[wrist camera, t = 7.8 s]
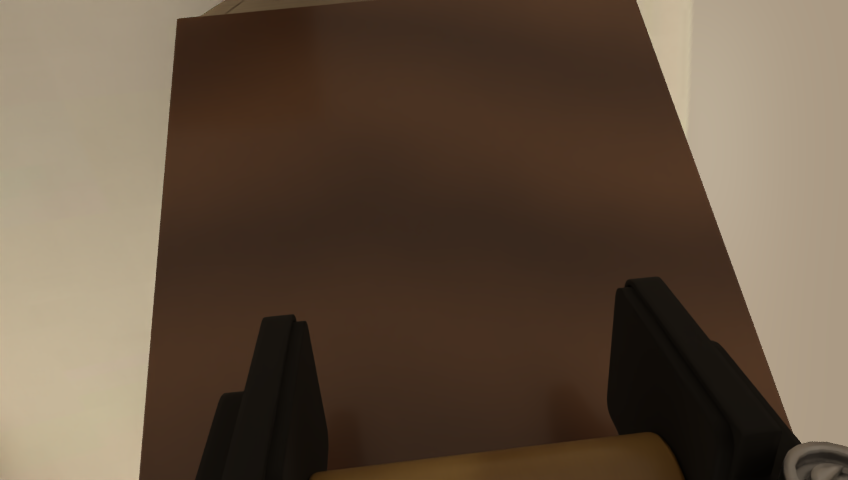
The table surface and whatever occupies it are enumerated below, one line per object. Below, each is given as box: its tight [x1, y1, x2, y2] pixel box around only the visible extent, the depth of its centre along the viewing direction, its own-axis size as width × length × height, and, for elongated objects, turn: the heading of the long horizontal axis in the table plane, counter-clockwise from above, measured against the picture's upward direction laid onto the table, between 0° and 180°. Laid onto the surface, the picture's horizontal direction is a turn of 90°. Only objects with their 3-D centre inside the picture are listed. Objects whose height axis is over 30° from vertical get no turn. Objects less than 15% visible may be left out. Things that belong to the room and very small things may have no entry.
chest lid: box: [139, 0, 793, 480], centre depth 14 cm, size 18×14×6 cm
